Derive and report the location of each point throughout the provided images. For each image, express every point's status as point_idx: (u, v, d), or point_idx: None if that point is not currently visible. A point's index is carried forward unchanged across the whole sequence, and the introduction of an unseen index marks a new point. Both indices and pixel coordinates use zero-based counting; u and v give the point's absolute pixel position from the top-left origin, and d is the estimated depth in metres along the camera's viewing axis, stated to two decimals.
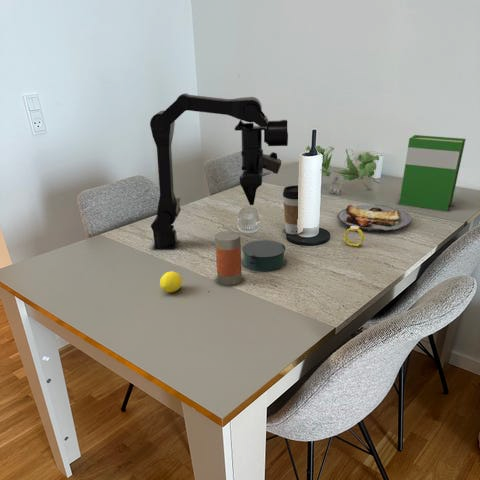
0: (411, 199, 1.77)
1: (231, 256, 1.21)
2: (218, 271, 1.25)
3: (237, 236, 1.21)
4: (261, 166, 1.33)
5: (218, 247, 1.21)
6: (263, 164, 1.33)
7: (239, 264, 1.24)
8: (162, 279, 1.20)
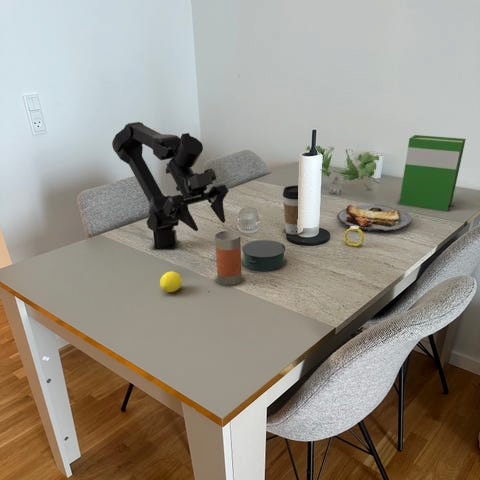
0: (411, 199, 1.77)
1: (231, 256, 1.21)
2: (218, 271, 1.25)
3: (237, 236, 1.21)
4: (187, 189, 1.24)
5: (218, 247, 1.21)
6: (187, 186, 1.23)
7: (239, 264, 1.24)
8: (162, 279, 1.20)
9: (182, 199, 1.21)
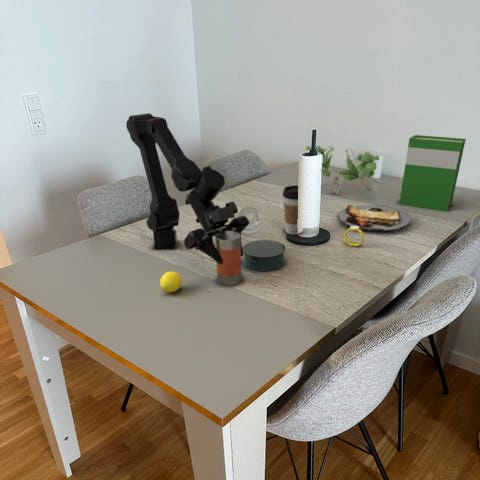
0: (411, 199, 1.77)
1: (231, 256, 1.21)
2: (218, 271, 1.25)
3: (237, 236, 1.21)
4: (208, 222, 1.21)
5: (218, 247, 1.21)
6: (208, 219, 1.21)
7: (239, 264, 1.24)
8: (162, 279, 1.20)
9: (203, 233, 1.19)
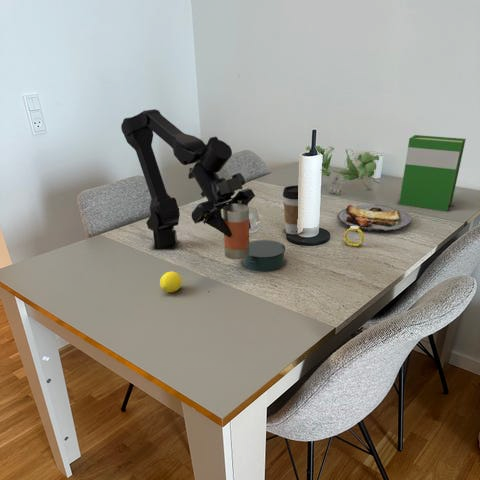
0: (411, 199, 1.77)
1: (240, 229, 1.19)
2: (226, 245, 1.23)
3: (246, 208, 1.19)
4: (216, 194, 1.19)
5: (227, 220, 1.19)
6: (216, 191, 1.18)
7: (248, 237, 1.23)
8: (162, 279, 1.20)
9: (212, 205, 1.17)
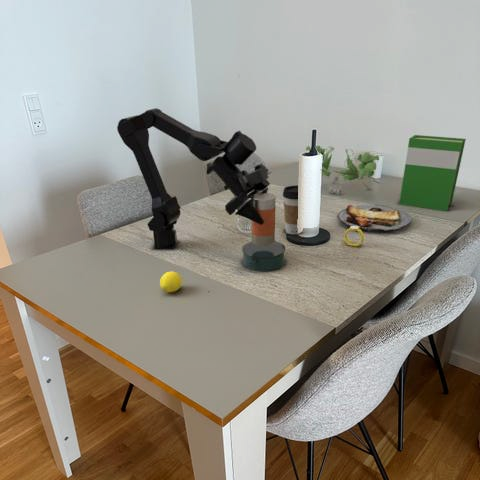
0: (411, 199, 1.77)
1: (271, 215, 1.28)
2: (257, 233, 1.30)
3: (273, 196, 1.27)
4: (245, 186, 1.25)
5: (258, 208, 1.26)
6: (245, 183, 1.25)
7: None
8: (162, 279, 1.20)
9: (247, 196, 1.23)
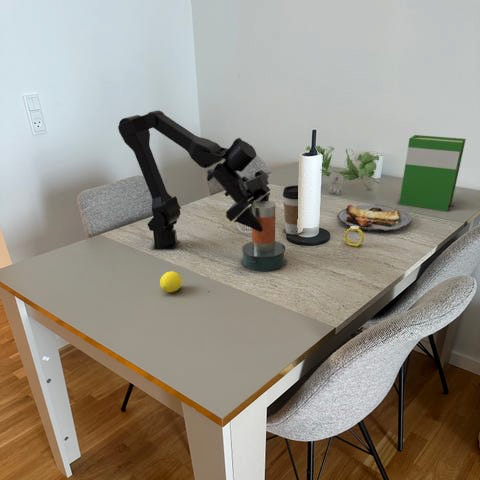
0: (411, 199, 1.77)
1: (271, 223, 1.29)
2: (257, 240, 1.31)
3: (273, 203, 1.29)
4: (245, 192, 1.26)
5: (258, 216, 1.27)
6: (245, 189, 1.26)
7: None
8: (162, 279, 1.20)
9: (247, 202, 1.24)
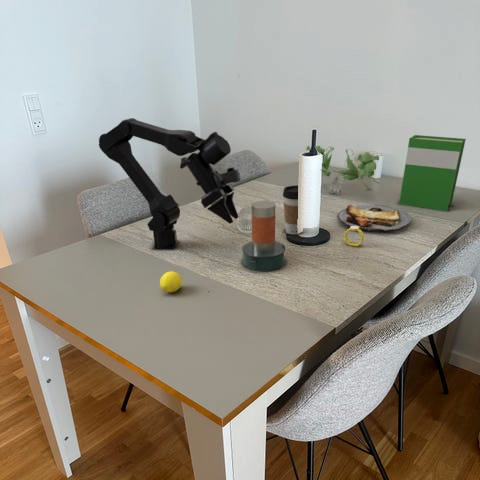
0: (411, 199, 1.77)
1: (271, 223, 1.29)
2: (257, 240, 1.31)
3: (273, 203, 1.29)
4: (219, 183, 1.29)
5: (258, 216, 1.27)
6: (220, 180, 1.29)
7: None
8: (162, 279, 1.20)
9: (223, 192, 1.27)
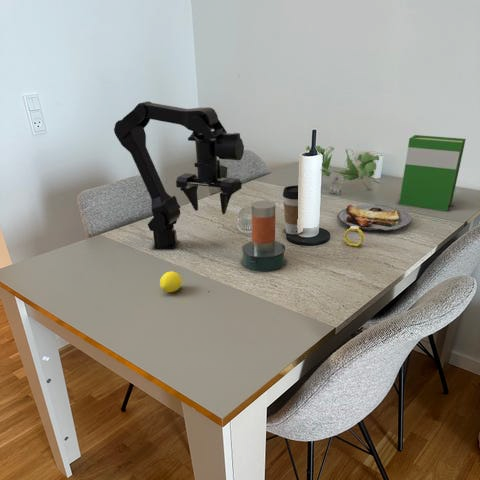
0: (411, 199, 1.77)
1: (271, 223, 1.29)
2: (257, 240, 1.31)
3: (273, 203, 1.29)
4: (221, 174, 1.33)
5: (258, 216, 1.27)
6: (222, 171, 1.33)
7: None
8: (162, 279, 1.20)
9: None
